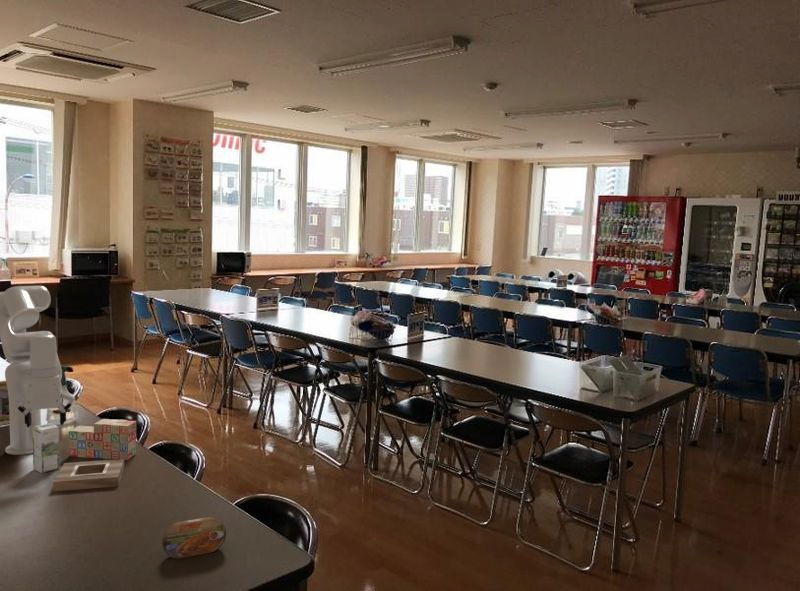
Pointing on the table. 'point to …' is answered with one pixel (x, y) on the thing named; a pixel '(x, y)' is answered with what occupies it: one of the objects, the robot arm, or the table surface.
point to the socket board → (89, 475)
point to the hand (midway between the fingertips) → (45, 424)
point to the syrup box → (45, 448)
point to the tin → (193, 537)
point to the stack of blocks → (104, 440)
